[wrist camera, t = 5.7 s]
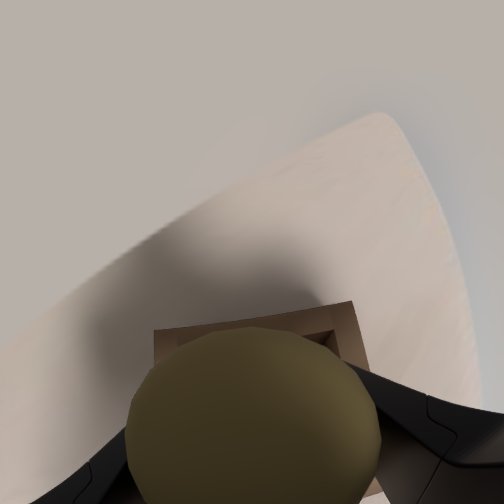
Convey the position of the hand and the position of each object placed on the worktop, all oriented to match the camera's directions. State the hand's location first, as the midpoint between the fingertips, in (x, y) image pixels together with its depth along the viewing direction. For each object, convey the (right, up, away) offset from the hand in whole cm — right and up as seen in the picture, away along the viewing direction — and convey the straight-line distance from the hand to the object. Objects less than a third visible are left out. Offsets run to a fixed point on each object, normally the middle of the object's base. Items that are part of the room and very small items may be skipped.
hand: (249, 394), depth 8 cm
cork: (+1, -5, +5) cm, 7 cm away
